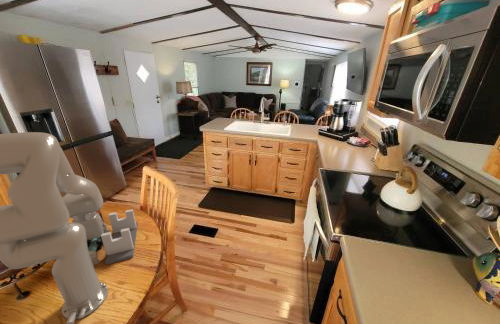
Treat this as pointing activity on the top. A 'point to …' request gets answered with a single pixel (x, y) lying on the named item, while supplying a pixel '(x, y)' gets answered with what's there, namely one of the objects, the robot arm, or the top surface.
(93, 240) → the dowel bar
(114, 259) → the stand
